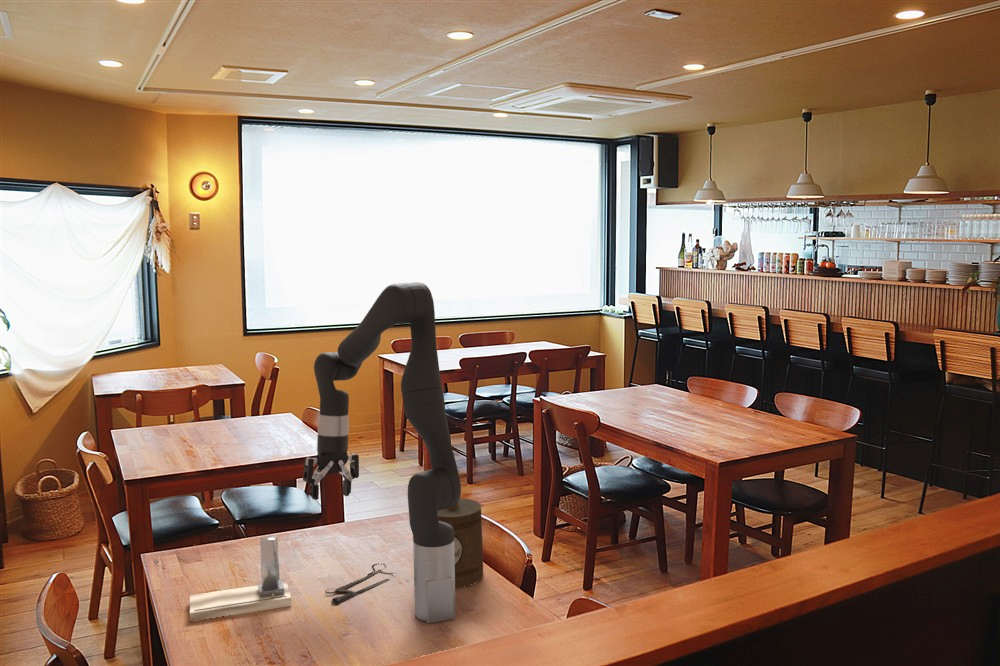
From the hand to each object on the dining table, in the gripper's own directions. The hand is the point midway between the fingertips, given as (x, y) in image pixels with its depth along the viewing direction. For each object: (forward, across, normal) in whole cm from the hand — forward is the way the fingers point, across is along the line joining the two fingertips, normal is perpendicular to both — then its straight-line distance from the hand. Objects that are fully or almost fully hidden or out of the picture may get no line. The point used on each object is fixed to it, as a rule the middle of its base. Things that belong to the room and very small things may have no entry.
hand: (330, 497), depth 206 cm
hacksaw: (+21, +5, -7) cm, 23 cm away
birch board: (+23, -22, +1) cm, 32 cm away
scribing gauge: (+20, -16, -2) cm, 26 cm away
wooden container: (+19, +25, -19) cm, 37 cm away
